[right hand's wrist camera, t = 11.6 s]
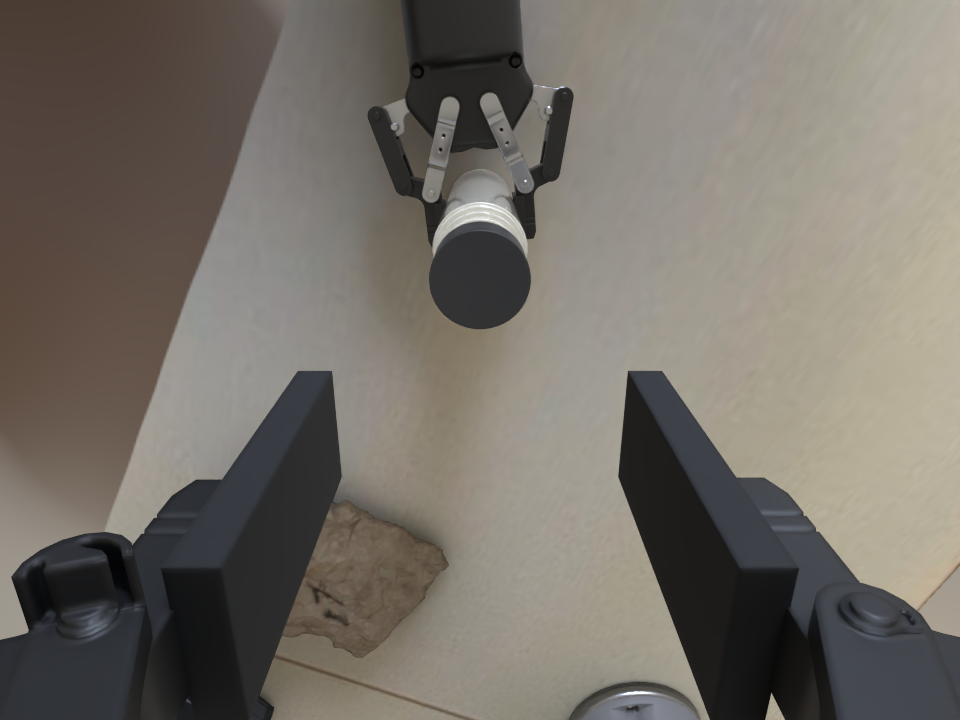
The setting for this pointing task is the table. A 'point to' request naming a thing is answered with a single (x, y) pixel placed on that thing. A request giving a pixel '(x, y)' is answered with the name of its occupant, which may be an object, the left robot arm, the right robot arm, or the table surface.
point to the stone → (362, 580)
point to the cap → (480, 275)
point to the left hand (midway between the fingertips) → (483, 248)
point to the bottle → (480, 206)
